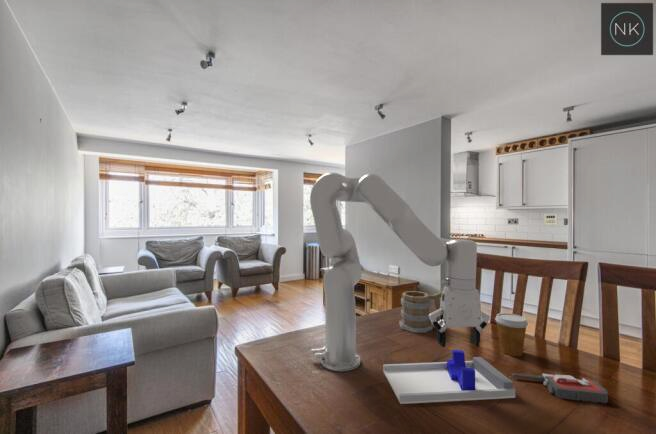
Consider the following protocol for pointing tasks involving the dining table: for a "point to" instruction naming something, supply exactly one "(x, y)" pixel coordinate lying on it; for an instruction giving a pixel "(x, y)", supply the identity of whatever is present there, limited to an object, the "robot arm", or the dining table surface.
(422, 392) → the channel
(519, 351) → the disposable coffee cup
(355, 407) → the dining table surface
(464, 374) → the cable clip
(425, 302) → the tankard
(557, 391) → the walkie-talkie
